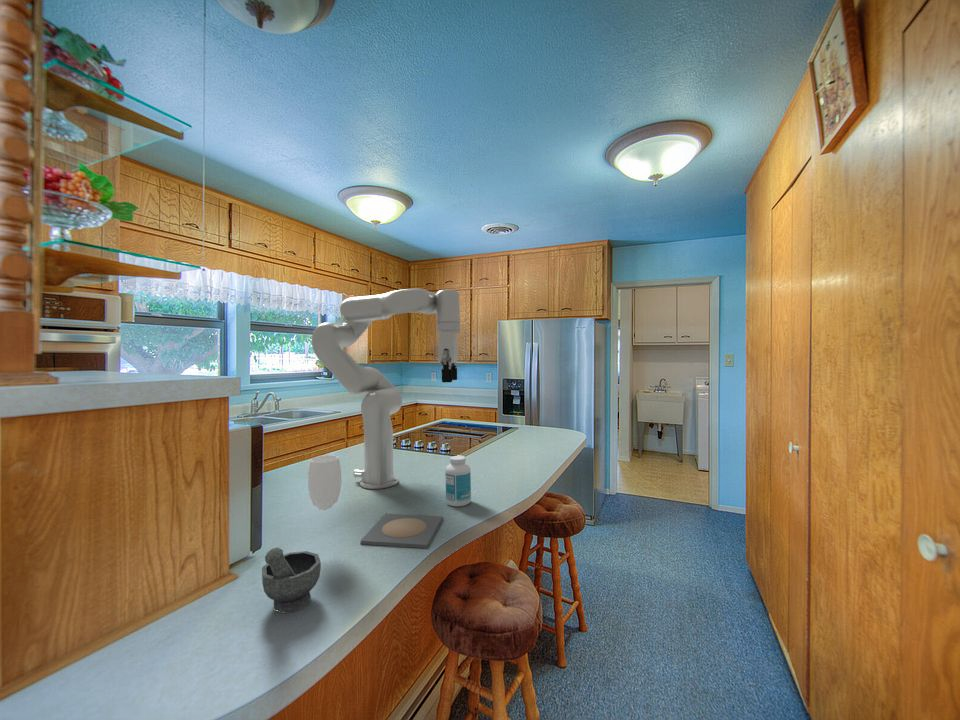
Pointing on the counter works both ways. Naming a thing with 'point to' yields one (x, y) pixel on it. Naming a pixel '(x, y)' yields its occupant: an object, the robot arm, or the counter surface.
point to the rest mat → (403, 530)
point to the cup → (324, 481)
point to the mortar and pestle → (290, 578)
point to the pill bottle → (458, 482)
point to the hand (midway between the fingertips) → (449, 381)
